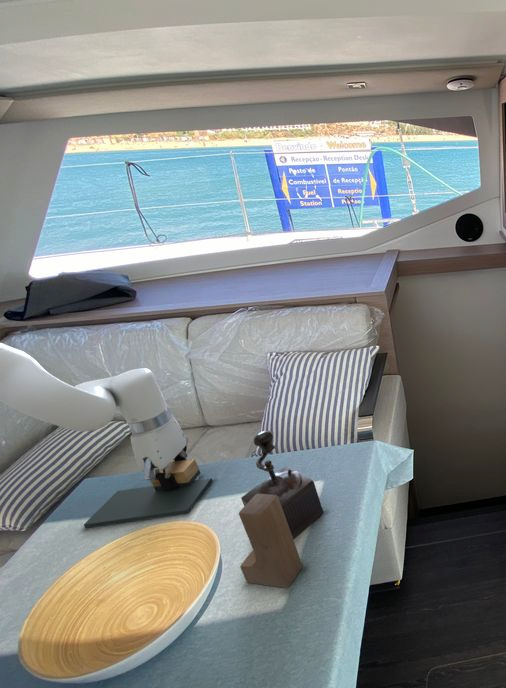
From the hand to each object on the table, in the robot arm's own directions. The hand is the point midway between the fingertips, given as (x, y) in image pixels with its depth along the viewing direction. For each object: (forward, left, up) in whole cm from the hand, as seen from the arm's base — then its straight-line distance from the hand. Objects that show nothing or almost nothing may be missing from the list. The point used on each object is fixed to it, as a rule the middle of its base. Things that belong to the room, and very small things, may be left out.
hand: (177, 480), depth 103 cm
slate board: (-5, -3, -1) cm, 6 cm away
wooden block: (+12, -44, -2) cm, 46 cm away
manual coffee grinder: (+17, -30, -2) cm, 35 cm away
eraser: (0, 0, 0) cm, 0 cm away
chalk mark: (+2, 0, -1) cm, 3 cm away
